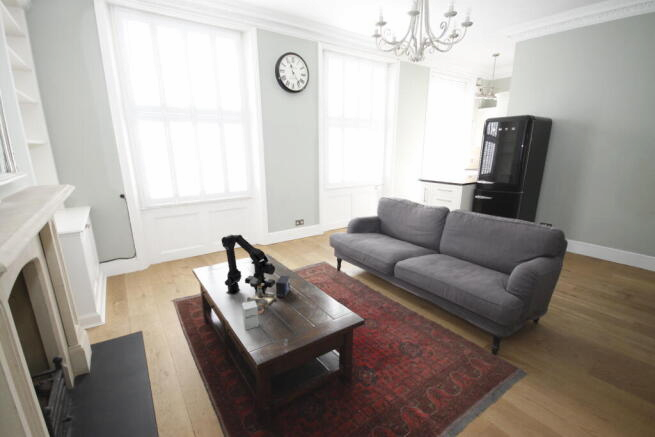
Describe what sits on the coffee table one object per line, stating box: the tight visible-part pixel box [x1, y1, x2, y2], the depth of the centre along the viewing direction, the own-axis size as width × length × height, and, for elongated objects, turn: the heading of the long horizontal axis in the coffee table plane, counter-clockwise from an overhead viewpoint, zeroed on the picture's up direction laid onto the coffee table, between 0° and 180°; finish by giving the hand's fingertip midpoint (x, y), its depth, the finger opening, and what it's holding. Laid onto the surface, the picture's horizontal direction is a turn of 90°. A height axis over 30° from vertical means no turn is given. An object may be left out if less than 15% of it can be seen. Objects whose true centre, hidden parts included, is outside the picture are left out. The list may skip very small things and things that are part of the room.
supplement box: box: [241, 301, 259, 331], centre depth 164 cm, size 7×7×13 cm
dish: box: [257, 306, 265, 316], centre depth 178 cm, size 8×8×4 cm
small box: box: [275, 275, 291, 298], centre depth 198 cm, size 11×6×10 cm, turn 168°
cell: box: [257, 283, 264, 298], centre depth 189 cm, size 4×4×8 cm
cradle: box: [246, 289, 277, 308], centre depth 190 cm, size 14×12×4 cm
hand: (260, 293), depth 189 cm, fingers closed on cell, 4 cm apart
